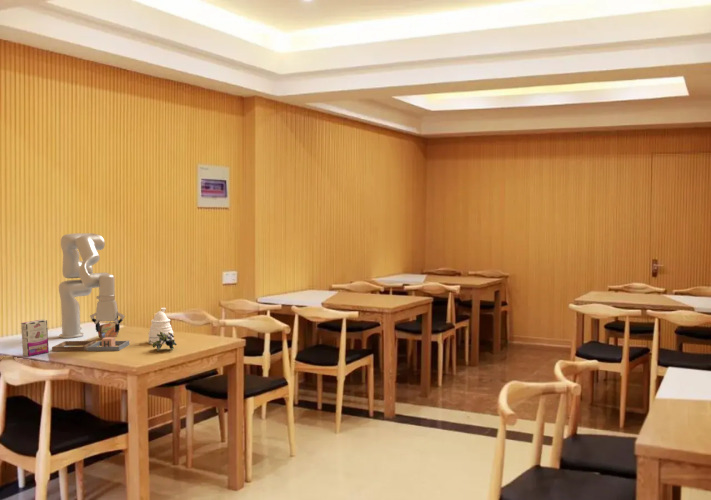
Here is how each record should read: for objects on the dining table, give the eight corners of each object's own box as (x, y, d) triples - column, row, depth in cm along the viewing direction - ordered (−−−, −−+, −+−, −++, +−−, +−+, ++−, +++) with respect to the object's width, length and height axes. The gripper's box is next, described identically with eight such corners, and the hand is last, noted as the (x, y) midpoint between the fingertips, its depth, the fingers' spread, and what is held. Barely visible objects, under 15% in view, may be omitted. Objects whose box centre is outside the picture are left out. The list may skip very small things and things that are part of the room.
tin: (101, 340, 369) (101, 325, 368) (97, 340, 370) (96, 324, 369) (119, 335, 383) (119, 320, 383) (115, 335, 384) (114, 320, 384)
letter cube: (105, 347, 351) (105, 337, 351) (115, 347, 351) (115, 337, 351) (101, 349, 346) (101, 339, 346) (111, 348, 346) (111, 339, 346)
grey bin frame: (98, 344, 357) (98, 341, 356) (129, 344, 357) (129, 340, 357) (87, 351, 341) (87, 347, 341) (119, 350, 341) (118, 346, 341)
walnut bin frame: (65, 344, 357) (65, 341, 357) (95, 344, 358) (95, 340, 357) (52, 351, 341) (51, 347, 341) (83, 350, 342) (83, 346, 342)
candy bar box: (43, 351, 341) (41, 319, 340) (49, 352, 338) (47, 320, 337) (21, 355, 331) (20, 322, 330) (28, 356, 328) (26, 323, 327)
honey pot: (163, 338, 372) (162, 306, 371) (178, 341, 364) (177, 308, 363) (143, 342, 361) (142, 309, 360) (159, 345, 354) (158, 311, 353)
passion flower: (171, 360, 343) (182, 341, 340) (154, 360, 334) (165, 341, 331) (160, 345, 349) (171, 327, 346) (143, 345, 340) (154, 326, 337)
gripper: (87, 299, 344) (87, 332, 345) (121, 299, 344) (122, 333, 345) (92, 297, 351) (93, 329, 352) (126, 297, 351) (126, 330, 353)
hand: (107, 331), depth 349 cm, fingers open, 9 cm apart
